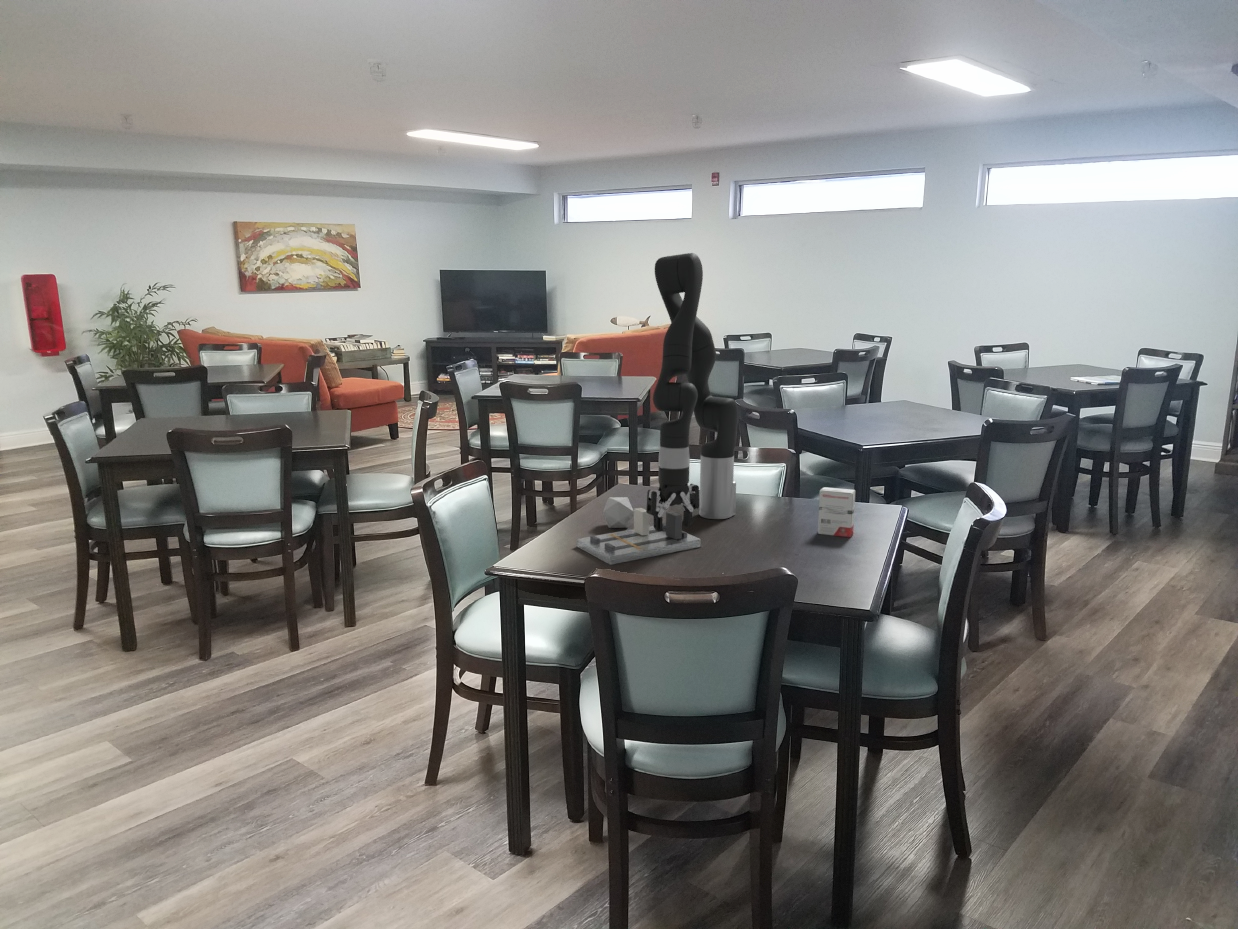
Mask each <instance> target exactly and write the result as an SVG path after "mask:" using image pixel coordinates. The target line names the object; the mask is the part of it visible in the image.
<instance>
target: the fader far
mask: <svg viewBox="0 0 1238 929" xmlns="http://www.w3.org/2000/svg"><path fill="white" fill-rule="evenodd" d="M633 511H634V513H633V529H634V532H636V533H638V534H640V535H642V536H643V535H648V534H649V526H650V514H648V513H647V512H646V509H645V508H642V507H637V508H636V507H635V508H633Z"/></svg>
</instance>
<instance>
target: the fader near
mask: <svg viewBox="0 0 1238 929" xmlns="http://www.w3.org/2000/svg"><path fill="white" fill-rule="evenodd" d="M665 524H666V536H668V537H670V538H673V539H681V538H682V531H683V514H680V513H679V512H676V511H673V510H671V511H666V512H665Z"/></svg>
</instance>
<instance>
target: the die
mask: <svg viewBox="0 0 1238 929" xmlns="http://www.w3.org/2000/svg"><path fill="white" fill-rule="evenodd" d="M602 514H603V517H604V519H605V522H606V525H607V527H608V528H609V529H628V528H629V527H630V524H631V520H632V517H634V508H633V507H632V504H631V502H630V500H629V498H628V497H627V496H626V497H625V496H624V497H622V496H621V497H619V496H617V497H611V496H610V497H608V498H607V500H606V503H605V506H604V509H603V510H602Z"/></svg>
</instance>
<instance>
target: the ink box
mask: <svg viewBox="0 0 1238 929" xmlns="http://www.w3.org/2000/svg"><path fill="white" fill-rule="evenodd" d="M818 495H819V500H818V518H817V519H818V525H817V534H819V535H824V536H825V535H826V536H835V537H842V538H851V537H853V534H854V529H855V528H854V527H855V525H854V524H855V510H856V509H855V508H856V507H855V505H856V490H855V489H849V488H848V489H847V488H839V487H838V488H837V487H827V486H826V487H825V486H823V487H822V488H820V490H819V494H818Z"/></svg>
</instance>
